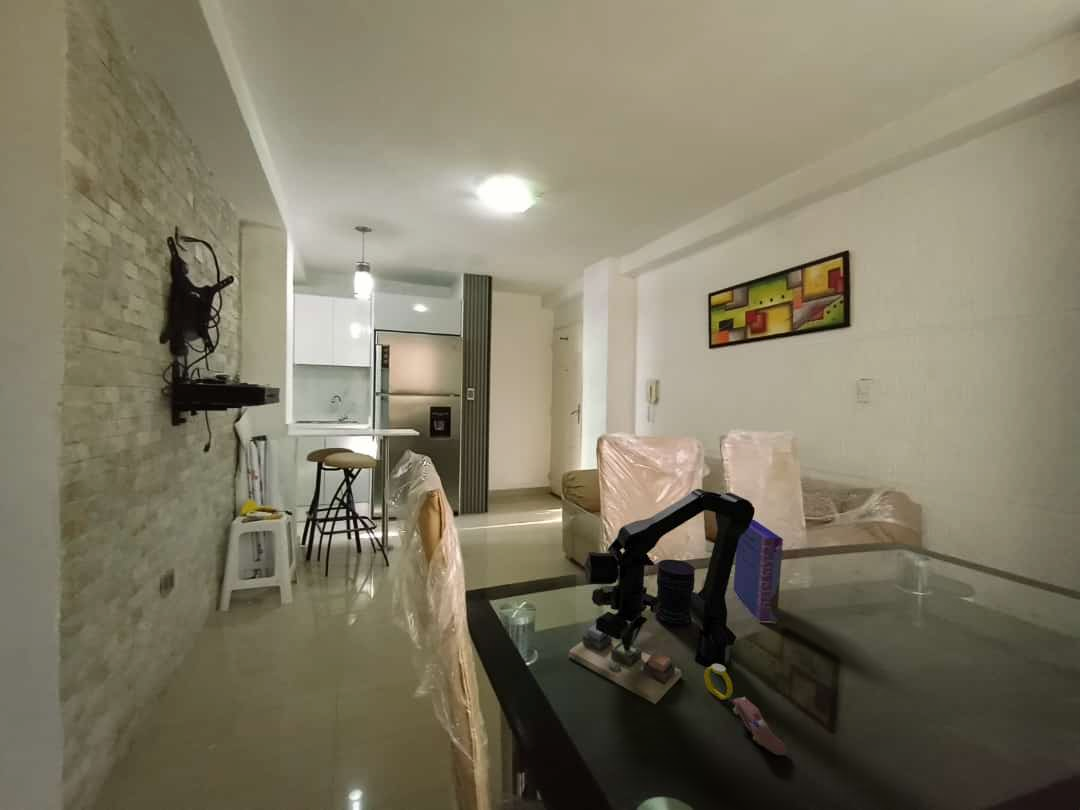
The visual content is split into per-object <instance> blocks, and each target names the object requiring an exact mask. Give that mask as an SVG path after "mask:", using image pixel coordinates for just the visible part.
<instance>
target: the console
mask: <svg viewBox="0 0 1080 810" xmlns="http://www.w3.org/2000/svg"><path fill="white" fill-rule="evenodd" d="M621 645H623V643H622V640H620V639H615V638H613V637H611V636H609V635H607V637H606V638H605V639H604V640H602V641H601V642H599V641H597V640H595V639H592V638H590V637H588V631H587V632H586V633H584V634H582V641H581V642H579V643H578V644H576V645H575V646H573V647H572V648H571V649H569V650H568V658H570V657H571V658H570V659H572V660H573V659H574V660H573V661H575V660H576V661H575V662H578V664H581V665H582V666H585V667H587V668H588V669H589V670H591V671H594V672H595V673H597V674H599V675H601V676H603V677H605V678H607V679H608V680H610V681H612V682H614V683H615V684H617V685H619V686H621V687H623V688H625V689H627V690H629V691H631V692H632V693H634V694H636V695H638V696H639V697H642V698H643V699H645V700H647V701H649V702H650V703H652V704H654V705H656V704H657V703H658V702H659V701H660V700H661V699H662V698H663V697H664V696H665V695H666V693H667V692H668V691H669V690H670V689H671V688H672V686H674V685H675V683H676V682H678V680H679V679H680V678H681V677H682V669H679V668H678V667H676V664H674V663H672V662H670V667H669V668H668V669H667V670H666V671H665V672H664V673H662V672H660V671H658V670H656V669H654V668H652V667H650V666H648V661H649V657H651V656H652V655H650V654H648V653H646V652H645V651H643V649H642V648H640V647H638V646H636V645H634V644H633V645H632V647H633V648H635V649H637V651H636V652H635V653H634V654H633V655H632V656H631V657H629V656H627V655H625V654H623V653H621V652H619V651H617V650H616V649H618V648H619V647H620V646H621Z"/></svg>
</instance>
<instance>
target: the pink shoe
mask: <svg viewBox="0 0 1080 810" xmlns="http://www.w3.org/2000/svg"><path fill="white" fill-rule="evenodd" d="M732 703H733V705H734V707H733V713H734V714H736V715H739V716H740V717H741V721H742V722H743V723H744V725H745V727H746V729H747V730H748V731H749V733H750V732H751V734H752V739H753V741H754V742H756V743H757V744H758V746H759V745H760V746H763V747H764V748H765V749H766V750H768V751H769V752H771V753H772V754H775V755H776V756H784V755H785V754H786V753H787V747H786V745H785V743H783V741H782V740H781V739H779V737H777V736H776V735H775V734H774V733H773V732H772V730H771V729H770V727H769V725H768V724H767V722H766V721H765V719H764V718H763V716H762V713H761V710H760V709H759V708H758V707H757V706H756V705H755V704H754V703H752V702H751V701H750V700H748V698H746V696H743V697H737V698H734V699H732Z"/></svg>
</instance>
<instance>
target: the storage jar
mask: <svg viewBox="0 0 1080 810" xmlns="http://www.w3.org/2000/svg"><path fill="white" fill-rule="evenodd" d="M695 570H696V568H695V567H694V566H693V565H692V564H691V563H688V562H686V561H683V560H678V559H663V560H660V561H658V563H657V572H656V585H657V593H656V594H657V595H656V596H655V597H656V598H657V599H658V601H659V610H658V611H656V612H655V613H654V618H655V620H656V622H657V623H659V624H660V625H661V626H664V627H666V628H669V629H673V628H675V630H683V629H682V628H686V629H688V628H690V627H691V626H692V620H693V618H692V617H691V615H690V609H689V607H688V605H689V604H690V602H691V595H692V592H694V589H695V579H696V578H695V572H696V571H695ZM690 625H691V626H690ZM689 626H690V627H689ZM687 627H688V628H687Z"/></svg>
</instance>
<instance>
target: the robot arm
mask: <svg viewBox="0 0 1080 810" xmlns="http://www.w3.org/2000/svg"><path fill="white" fill-rule="evenodd" d="M704 511H708V512H713V513H715V514H714V516H715V522H716V528H717V531H716V535H715V540H714V543H713V548H712V551H711V555H710V559H709V563H708V564H709V565H708V568H707V572H706V576H705V580H704V584H703V588H701V590H699V591H698V592H695V591H693V592H692V595H691V602H690V604H689V605H688V607H689V609H690V615H691V617H692V620H693V622H695V624H696V626H697V627H698V628H699V629H700V630H699V632H698V635H697V636H696V641H695V654H696V656H695V657H694V661H695V662H697V663H699V664H701V665H703V666H706V667H707V668H708V667H710V666H712V665H713V664H721V665H723V666H724V667H725V668H727V667H728V666H729V665H730V663H731V662H732V658H731V657H730V647H731V646H734V645H735V642H736V639H737V636H736V635H735V633H734V632H733V631H732V630H731V629H730V627H728V626H727V625H728V623H727V622H728V608H727V602H726V594H727V589H728V586H729V582H730V577H731V573H732V570H733V565H734V561H735V559H736V550H737V546H738V542H739V538H740V536H741V535H742V534H743V533H744V532H745V531H746V530H747V529H748V528H749V526H750V524H751V521H752V519H753V520H754V516H755V511H756V510H755V507H754V505H753V504H752V502H751V501H750V500H749V499H746V498H743V497H741V496H740V495H737V494H735V493H733V492H725V493H723V494H721V493H717V492H713V491H707V490H703V489H702V488H696V489H694V490H692V491H691V492H690V493H689V494H687V495H685V496H684V497H682V498H681V499H679V500H678V501H676V502H674V503H672V504H670V505H668V506H667V507H666V508H664V509H663V510H661V511H659V512H658V513H656V514H654V515H652V516H651V517H648V518H646V519H641V520H635V521H633V522H630V523H628V524H625V525H622V526H621V527H620V528H619V530H618V533H617V537H616V538H615V539H614V540H613V541H612V543H611V544H610V546H609V547H608V548H607V551H608V552H596V551H590V552H588V554H587V557H586V560H585V563H584V576H585V577H584V579H585V582H586V584H587V585H605V586H602V587H600V588H595V589H593V590H592V593H591V594H592V595H591V600H592V602H593V604H594V605H596V606H597V607H601V606H610V609H611V610H613V611H616V610H617V612H616V613H613V612H610V611H607V612H605V613H603V614H602V615H601V616H599V617H598V618H596V619H595V624H596V630H598V631H600V632H603V633H605V634H607V635H609V636H611V637H612V638H614V639H616V640H620V641H621V642H622V643H623V647H624V649H625V650H627V651H629V650H630V648H631V647H632V645H634V643H635V642H636V640H637V638H638V635H640V632H641V631H642V629H643V628H644V626H645V624H646V623H647V621H648V618H647V617H644V616H643V614H642V613H644V612H645V611H646V610H647V608H648V607H650V608H649V610H650V612H651V613H652V614H655V613H656V611H658V610H659V601H658V599H657V598H656V596H654V595H652V594H649V593H647V591H648V588H647V587H645V586H644V584H645V580H644V579H645V568H646V567H648V566H649V567H652V566H654V565H655V561H653V560H652V559H651V558H650V556H649V552H651V550H653V549H654V548H655V547H656V545H657V544H658V542H659V541H660V539H661V538H663V537H664V536H666V534H668V533H670V532H672V531H673V530H675V529H676V528H678V527H681V526H682V525H683V524H684V523H686V522H688V521H690V520H692V519H693V518H694V517H696V516H698V515H699V514H701V513H703V512H704ZM621 550H624V551H623V552H622V551H621ZM614 583H615V585H614ZM616 583H617V584H616ZM730 661H731V662H730ZM729 662H730V663H729ZM727 665H728V666H727Z"/></svg>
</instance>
